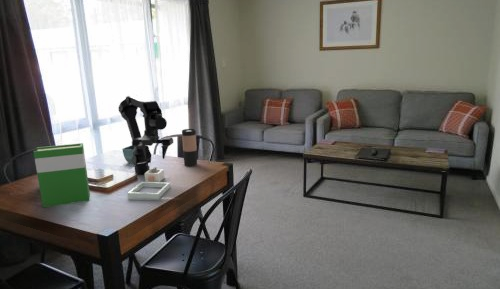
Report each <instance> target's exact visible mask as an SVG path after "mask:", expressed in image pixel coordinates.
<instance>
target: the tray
mask: <svg viewBox="0 0 500 289" xmlns="http://www.w3.org/2000/svg"><path fill="white" fill-rule="evenodd" d="M143 188H161V189H159V190H158V191H157V192H139V191H140V190H141V189H143ZM170 188H171V182H164V183H163V182H145V181H140V182H139V183H138V184H136V186H134V187H133V188H131V189H130V190H129V191H128V192H127V200H135V201H137V200H138V201H160V200H161V199H162V198H163V197H164V196H163V195H164V194H165V193H166V192H167V191H168V190H169V189H170Z"/></svg>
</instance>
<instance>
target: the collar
mask: <svg viewBox="0 0 500 289" xmlns="http://www.w3.org/2000/svg"><path fill="white" fill-rule="evenodd" d="M152 169H153V168H150V170H148V171H147V172H146V173H145V175H144V182H160V181H161V180H163V179H164V178H165V170H164V169H163V168H157V169H156V172H157V173H152Z"/></svg>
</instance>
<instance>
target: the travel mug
mask: <svg viewBox="0 0 500 289" xmlns="http://www.w3.org/2000/svg"><path fill="white" fill-rule="evenodd" d="M196 132H197V131H196V130H195V129H194V128H185V129H182V130H181V135H182V136H181V138H182V153H183V162H184V165H183V166H184V167H195V166H197V165H198V150H197V147H198V146H197V133H196Z"/></svg>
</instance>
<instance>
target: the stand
mask: <svg viewBox="0 0 500 289" xmlns="http://www.w3.org/2000/svg"><path fill="white" fill-rule="evenodd" d="M151 169H152V173H157V172H156V169H158V168H157V166H155V167H153V168H151ZM169 179H170V178H169V177H164V179H163V180H161V181H160V182H163V183H167V181H168V180H169Z"/></svg>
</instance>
